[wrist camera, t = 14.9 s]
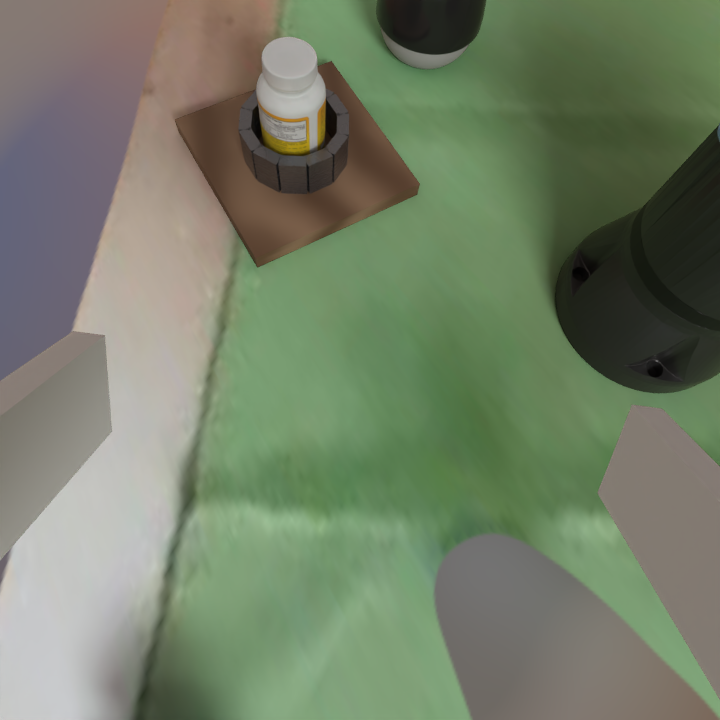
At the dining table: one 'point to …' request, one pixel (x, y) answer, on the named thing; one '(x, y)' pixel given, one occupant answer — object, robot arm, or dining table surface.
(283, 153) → the supplement bottle
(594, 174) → the dining table surface
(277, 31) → the dining table surface
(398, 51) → the pump dispenser
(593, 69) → the dining table surface
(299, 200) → the board
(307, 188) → the collar
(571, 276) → the robot arm
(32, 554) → the dining table surface
